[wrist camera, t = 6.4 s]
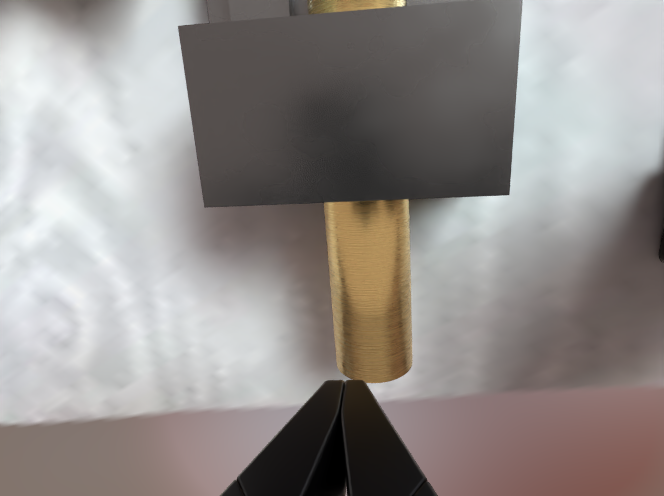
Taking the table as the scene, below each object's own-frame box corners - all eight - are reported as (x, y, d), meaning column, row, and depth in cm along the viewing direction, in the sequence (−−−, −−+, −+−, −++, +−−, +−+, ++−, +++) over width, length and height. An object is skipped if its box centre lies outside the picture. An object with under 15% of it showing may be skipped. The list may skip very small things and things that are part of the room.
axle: (384, -28, 14) (419, -72, 11) (396, 336, 18) (424, 374, 15) (298, -28, 13) (311, -73, 10) (330, 347, 17) (346, 389, 14)
